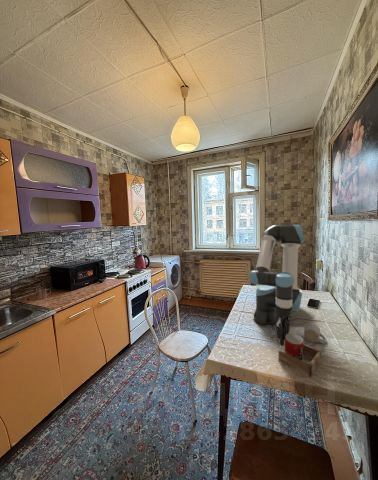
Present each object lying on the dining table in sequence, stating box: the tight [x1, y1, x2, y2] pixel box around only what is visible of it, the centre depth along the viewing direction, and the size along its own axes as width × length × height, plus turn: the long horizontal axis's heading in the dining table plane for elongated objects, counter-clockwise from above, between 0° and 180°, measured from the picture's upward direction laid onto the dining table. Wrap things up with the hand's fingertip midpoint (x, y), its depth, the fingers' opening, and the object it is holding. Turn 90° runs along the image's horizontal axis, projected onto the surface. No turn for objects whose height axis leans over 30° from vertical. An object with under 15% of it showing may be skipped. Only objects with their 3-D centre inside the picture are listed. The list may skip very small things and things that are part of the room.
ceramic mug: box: [303, 322, 328, 344], centre depth 112 cm, size 11×8×8 cm
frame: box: [278, 343, 322, 378], centre depth 97 cm, size 14×14×5 cm
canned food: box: [284, 332, 304, 361], centre depth 98 cm, size 8×8×11 cm
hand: (282, 350), depth 103 cm, fingers closed
